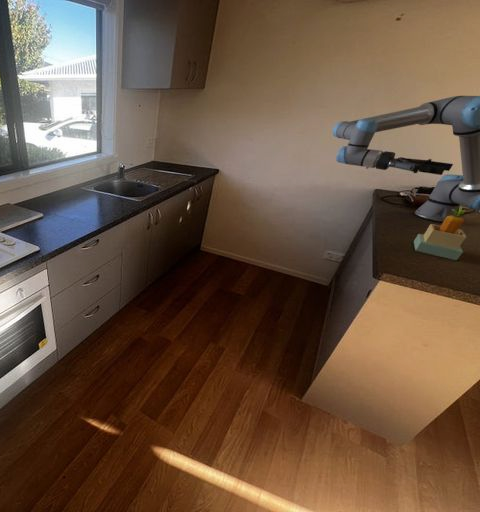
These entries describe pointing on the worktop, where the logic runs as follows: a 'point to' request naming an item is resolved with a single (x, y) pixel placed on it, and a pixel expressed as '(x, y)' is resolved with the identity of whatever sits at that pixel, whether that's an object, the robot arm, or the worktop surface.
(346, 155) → the robot arm
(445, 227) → the carrot
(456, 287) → the worktop surface
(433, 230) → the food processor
